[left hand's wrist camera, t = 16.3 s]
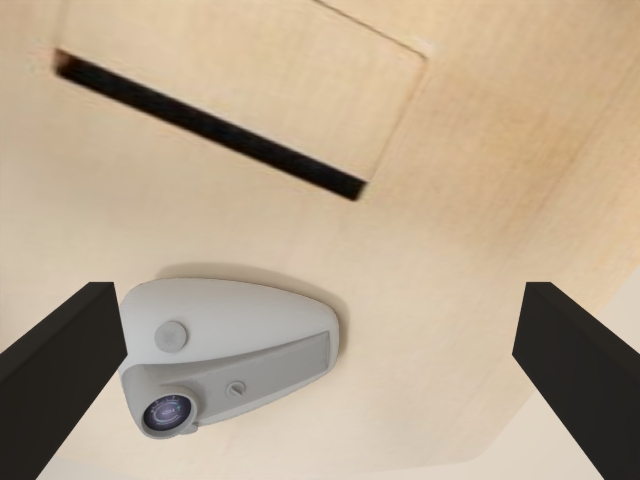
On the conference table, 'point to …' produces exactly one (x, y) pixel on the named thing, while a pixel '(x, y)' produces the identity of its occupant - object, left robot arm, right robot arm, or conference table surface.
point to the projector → (218, 350)
